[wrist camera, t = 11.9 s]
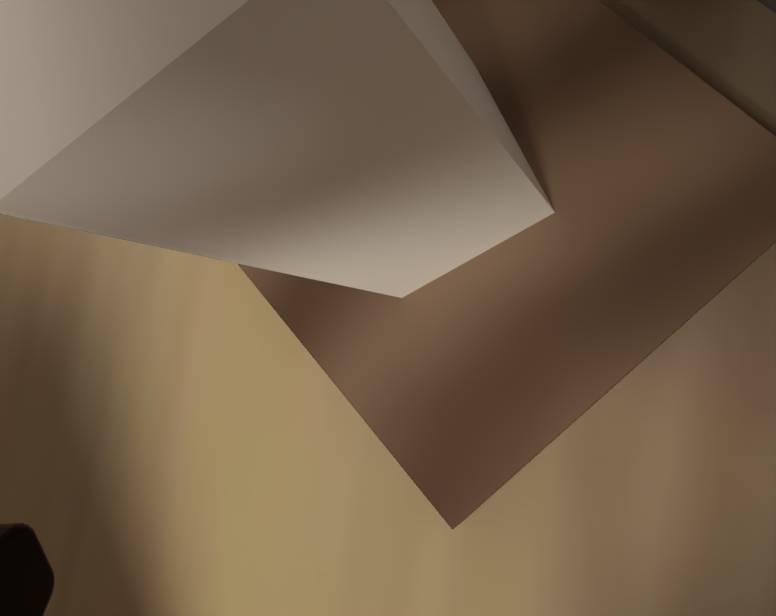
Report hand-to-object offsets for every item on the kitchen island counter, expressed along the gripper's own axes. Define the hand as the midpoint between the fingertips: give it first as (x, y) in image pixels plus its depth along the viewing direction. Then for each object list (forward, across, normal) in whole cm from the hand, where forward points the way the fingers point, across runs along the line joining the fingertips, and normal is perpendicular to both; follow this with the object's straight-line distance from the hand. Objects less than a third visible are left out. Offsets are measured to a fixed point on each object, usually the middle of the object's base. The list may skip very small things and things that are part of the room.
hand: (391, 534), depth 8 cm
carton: (+13, 0, -1) cm, 13 cm away
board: (+14, 0, 0) cm, 14 cm away
